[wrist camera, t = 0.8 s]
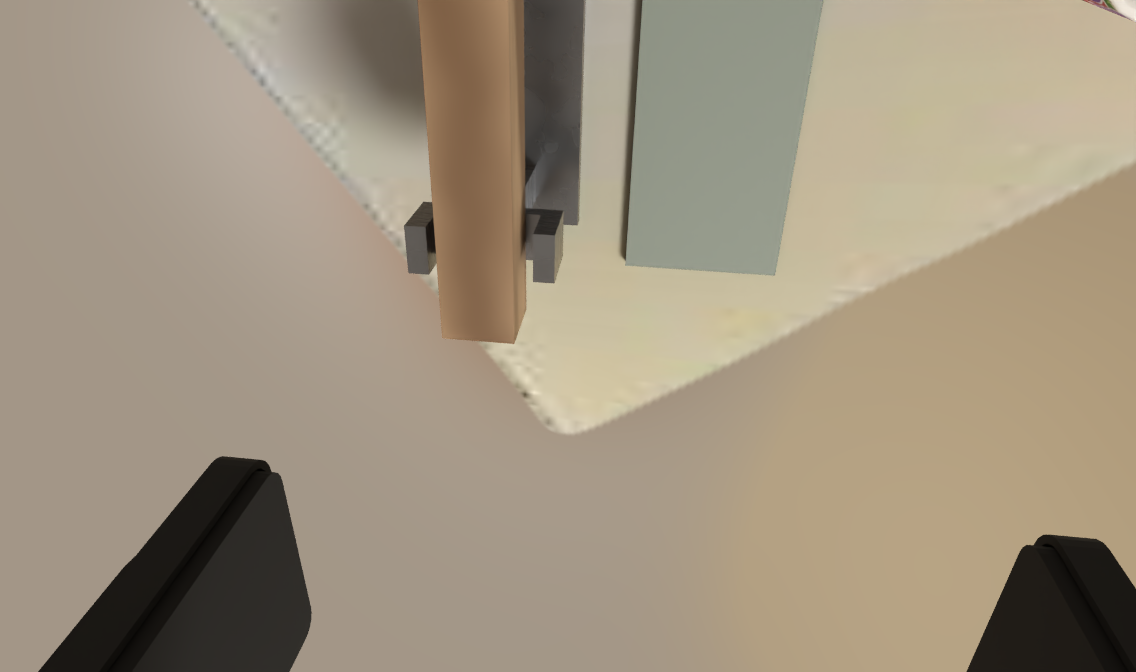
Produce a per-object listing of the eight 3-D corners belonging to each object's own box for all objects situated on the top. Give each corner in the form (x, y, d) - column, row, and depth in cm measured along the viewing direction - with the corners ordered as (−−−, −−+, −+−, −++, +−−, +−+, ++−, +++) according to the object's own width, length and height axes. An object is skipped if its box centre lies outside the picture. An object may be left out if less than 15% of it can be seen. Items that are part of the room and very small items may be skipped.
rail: (521, -217, 28) (504, -231, 25) (526, 309, 39) (514, 343, 36) (429, -218, 28) (400, -232, 25) (459, 304, 39) (442, 338, 36)
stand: (590, -153, 36) (560, -172, 26) (578, 220, 46) (554, 307, 36) (447, -155, 37) (366, -176, 27) (465, 213, 46) (410, 297, 37)
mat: (858, -215, 34) (861, -216, 33) (773, 271, 46) (775, 275, 45) (656, -216, 35) (656, -218, 34) (625, 261, 47) (625, 265, 46)
